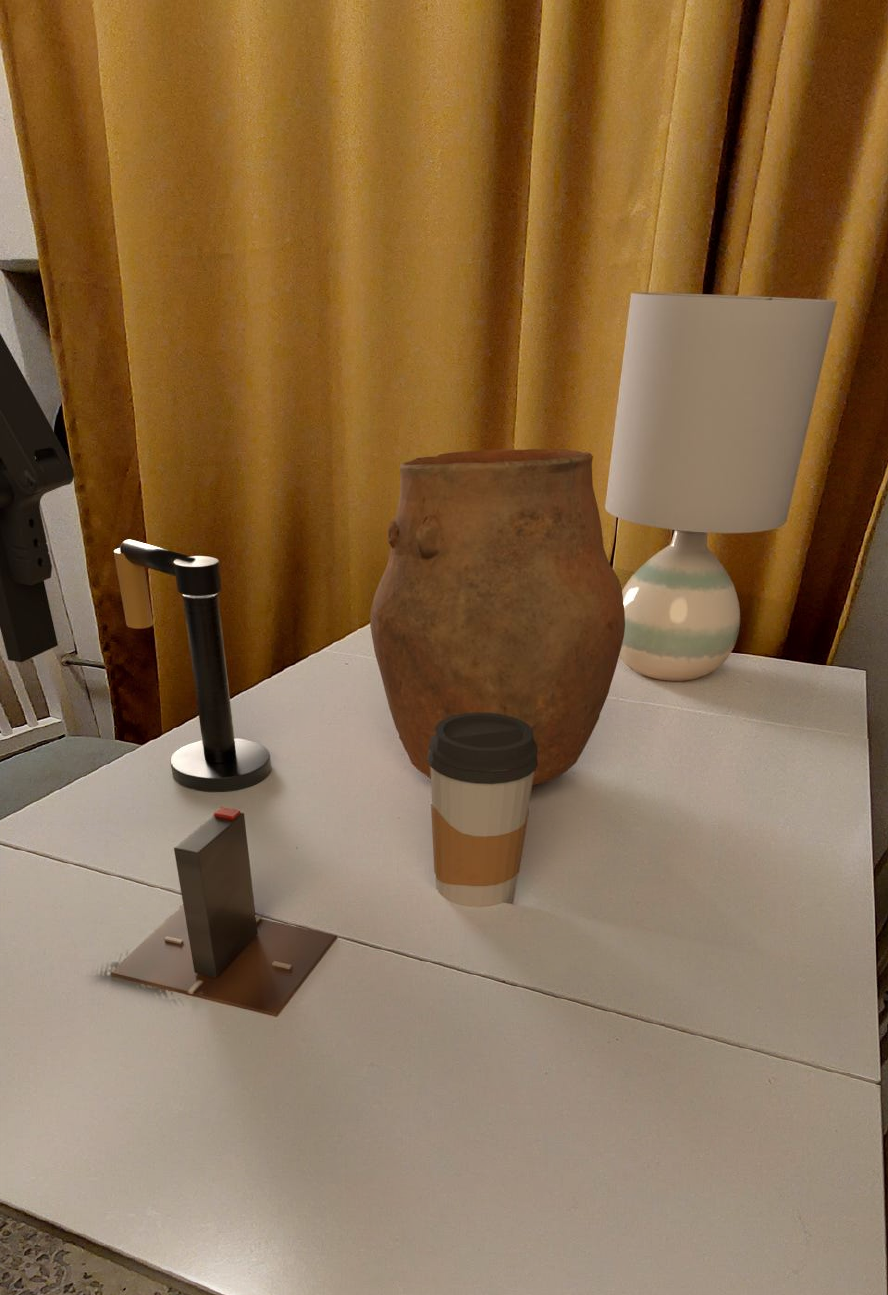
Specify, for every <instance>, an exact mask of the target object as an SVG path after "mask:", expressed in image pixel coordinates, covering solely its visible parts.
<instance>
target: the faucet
mask: <svg viewBox="0 0 888 1295" xmlns="http://www.w3.org/2000/svg"><path fill="white" fill-rule="evenodd" d="M182 602H183V607H184V616H185V617H184V618H185V624H186V630H187V637H188V646H189V653H190V660H191V667H192V668H191V669H192V675H193V681H194V684H193V685H194V690H195V698H196V705H197V712H198V720H199V727H200V734H201V740H197V741H194V742H191V743H188V744H185V745H184V746H182V747H180V748H177V750H176V751H174V752H173V754H171V757H170V760H169V761H170V767H171V768H170V769H171V774H172V778H173V779H174V780H175V782H176V783H178V784H179V785H181V786H183V787H185V788H187V789H191V790H194V791H199V792H208V793H219V792H220V793H222V792H223V793H224V792H233V791H239V790H243V789H246V788H250V787H253V786H255V785H258V784H259V783H261V782H263V781H264V780H266V779H267V777H268V776H269V775H270V774H271V771H272V764H271V763H272V762H271V755H270V751H269V750H268V748H266V747H265V746H264V745H262V744H260V743H258V742H256V741H254V740H253V741H252V740H249V739H243V738H238V737H237V738H235V731H234V722H233V712H232V706H231V705H232V704H231V697H230V686H229V679H228V670H227V660H226V653H225V644H224V643H225V642H224V634H223V626H222V617H221V606H220V599H219V593H217V594H213V595H208V596H188V595H183V594H182Z"/></svg>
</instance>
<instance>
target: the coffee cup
mask: <svg viewBox="0 0 888 1295" xmlns="http://www.w3.org/2000/svg"><path fill="white" fill-rule="evenodd" d="M537 753H538V748H537V743H536V742H535V741H534V735H533V730H532V728H531V727H530V726H529V725H528V724H526V723H525V722H523V721H522V720H519V719H516V718H514V717H511V716H507V715H503V714H496V713H484V712H474V713H463V714H458V715H453V716H450V717H447V718H445V719H443V720H442V721H440V722H439V723H438V724H437V726H436V728H435V735H434V736H433V737H432V738H431V740H430V744H429V753H428V760H427V761H428V763H429V764H430V769H431V779H430V786H431V788H430V789H431V804H430V810H431V811H430V812H431V831H432V832H431V833H432V852H433V853H432V855H433V871H434V875H435V890H437V892H438V893H439V895H440V896H442V898H444V899H445V900H447V901H449V902H450V903H453V904H457V905H460V906H463V907H470V908H486V907H494V906H497V905H501V904H502V903H504V904H509V905H513V903H514V900H515V893H516V887H517V881H518V875H519V873H520V868H521V862H522V855H523V851H524V850H523V849H524V843H525V837H526V831H527V825H528V821H529V820H528V819H529V815H530V811H529V810H530V801H531V796H532V795H531V794H532V788H533V785H532V783H533V777H534V771H535V770H536V768H537V766H538V760H537Z"/></svg>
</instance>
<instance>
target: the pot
mask: <svg viewBox="0 0 888 1295" xmlns="http://www.w3.org/2000/svg"><path fill="white" fill-rule="evenodd" d="M593 458H594V455H593V454H591V452H588V451H584V452H583V451H580V450H577V449H576V450H574V449H573V450H571V449H565V448H561V449H560V448H559V449H557V448H556V449H550V448H528V449H488V450H487V449H486V450H470V451H469V450H467V451H466V450H465V451H453V452H446V453H440V454H438V455H436V456H423V457H416V458H414V459H412V460H409V461H405V462H402V463H400V465H399V475H400V479H399V480H400V483H399V500H398V505H397V509H396V515H395V520H394V521H390V523H389V525H388V529H387V541H388V543H389V545H390V551H389V552H390V553H389V557H388V562H387V565H386V567H385V569H384V571H383V574H382V576H381V578H380V581H379V582H378V583H379V584H378V586H377V588H376V590H375V593H374V597H373V601H372V604H371V608H370V612H369V615H370V616H369V627H370V633H371V639H372V644H373V645H372V646H373V650H374V654H375V658H376V662H377V666H378V669H379V672H380V676H381V680H382V684H383V688H384V692H385V696H386V701H387V704H388V707H389V708H388V709H389V711H390V715H391V716H392V720H393V723H394V726H395V729H396V731H397V733H398V738H399V741H401V743H402V746H403V748H404V750H405V752H406V753H407V756H408V758H409V760H410V762H411V764H412V766H414V768H416V770H418V771H419V772H421V773H422V774H424V775H425V776H426V777H428V779H430V780H431V769H430V764H429V763H428V761H427V760H428V753H429V744H430V740H431V738H432V737H433V736H434V735H435V728H436V726H437V724H438V723H439V722H440V721H442V720H443V719H445V718H447V717H450V716H453V715H458V714H463V713H474V712H484V713H496V714H503V715H507V716H511V717H514V718H516V719H519V720H522V721H523V722H525V723H526V724H528V725H529V726H530V727H531V728H532V730H533V735H534V741H535V742H536V743H537V748H538V753H537V760H538V766H537V768H536V770H535V771H534V777H533V783H532V786H535V785H538V784H542V783H546V782H551V781H552V780H554V779H557V778H558V777H560V776H561V775H563V774H564V773H566V772H568V770H570V769H571V768H572V767H573V766H574V765H575V764H576V763H577V761H578V760H579V759H580V756H581V755H582V753H583V751H584V749H585V748H586V745H587V744H588V742H589V740H590V738H591V736H592V734H593V732H594V730H595V728H596V725H597V724H598V722H599V720H600V717H601V716H600V715H601V712H602V710H603V708H604V705H605V703H606V701H607V698H608V697H609V696H608V695H609V693H610V689H611V686H612V682H613V679H614V676H615V673H616V668H617V666H618V662H619V659H620V657H619V655H620V651H621V647H622V643H623V638H624V632H625V611H624V603H623V595H622V590H623V588H622V585H621V581H620V579H619V577H618V575H617V573H616V572H615V570H614V568H613V567H612V565H611V563H610V562H609V559H608V556H607V553H606V550H605V547H604V538H603V529H602V523H601V517H600V516H601V515H600V511H599V510H600V509H599V507H598V502H597V498H596V494H595V490H594V487H593V486H594V485H593Z"/></svg>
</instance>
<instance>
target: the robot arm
mask: <svg viewBox="0 0 888 1295" xmlns="http://www.w3.org/2000/svg"><path fill="white" fill-rule="evenodd" d="M74 478H75V470H74V466H73V464H72V462H71V460H70V458H69V457H68V455H67V453H66V452H65V449H64V447H63V446H62V443H61V442H60V440H59V438H58V437H57V435H56V433H55V431H54V428H53V427H52V425H51V424H50V421H49V420H48V418H47V417H46V415H45V413H44V410H43V409H42V407H41V405H40V403H39V402H38V400H37V398H36V396H35V394H34V392H33V390H32V389H31V387H30V384H29V383H28V382H27V379H26V377H25V375H24V373H23V372H22V370H21V369H20V367H19V365H18V363H17V361H16V359H15V357H14V355H13V354H12V352H11V351H10V348H9V346H8V344H7V343H6V341H5V339H4V338H3V336H2V333H0V634H1V637H2V642H3V645H4V648H5V653H6V656H7V661H10V662H17V663H23V662H26V661H28V660H30V659H32V658H34V657H36V656H38V655H41V654H43V653H45V652H47V651H49V650H51V649H54V648H56V647H58V646H59V643H58V638H57V633H56V629H55V625H54V621H53V615H52V611H51V607H50V606H51V605H50V601H49V597H48V593H47V588H46V584H45V581H46V580H49V579H51V578H52V570H53V564H52V560H51V555H50V553H49V552H50V550H49V544H47V542H48V541H47V537H46V532H45V527H44V523H43V517H42V513H41V499H42V497H43V496H45V494H48V493H50V492H53V491H54V490H57V489H59V488H62V487H65V486H68V485H69V486H70V485H71V484H72V483H73V482H74Z"/></svg>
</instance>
